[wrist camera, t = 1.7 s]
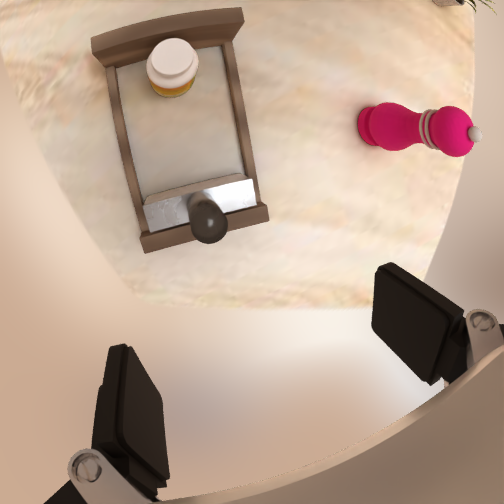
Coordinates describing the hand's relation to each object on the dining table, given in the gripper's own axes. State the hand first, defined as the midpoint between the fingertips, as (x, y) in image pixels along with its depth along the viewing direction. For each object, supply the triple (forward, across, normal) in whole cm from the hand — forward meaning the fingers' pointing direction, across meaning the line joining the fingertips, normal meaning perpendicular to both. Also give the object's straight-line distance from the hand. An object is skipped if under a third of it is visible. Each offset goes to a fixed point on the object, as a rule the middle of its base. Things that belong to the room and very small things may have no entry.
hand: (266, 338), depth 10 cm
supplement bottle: (+29, 0, -16) cm, 33 cm away
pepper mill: (+29, -28, -6) cm, 40 cm away
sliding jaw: (+29, 0, 0) cm, 29 cm away
